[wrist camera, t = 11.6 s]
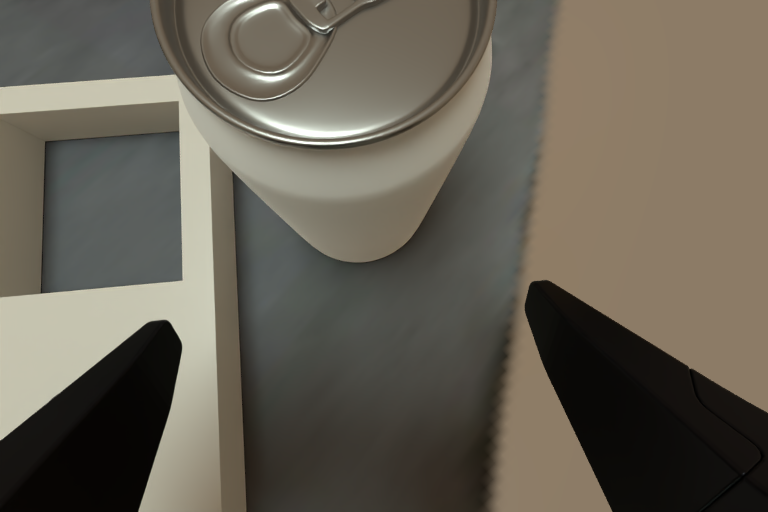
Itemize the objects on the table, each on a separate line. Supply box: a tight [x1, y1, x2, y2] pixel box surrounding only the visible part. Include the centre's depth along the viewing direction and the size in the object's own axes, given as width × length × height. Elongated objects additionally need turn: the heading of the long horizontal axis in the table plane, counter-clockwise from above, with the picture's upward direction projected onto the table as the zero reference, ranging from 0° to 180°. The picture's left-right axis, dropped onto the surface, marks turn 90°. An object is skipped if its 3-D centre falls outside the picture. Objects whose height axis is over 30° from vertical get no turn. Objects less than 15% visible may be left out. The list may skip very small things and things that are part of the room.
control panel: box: [0, 75, 247, 512], centre depth 15 cm, size 26×10×3 cm, turn 5°
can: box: [150, 0, 497, 262], centre depth 12 cm, size 6×6×12 cm
